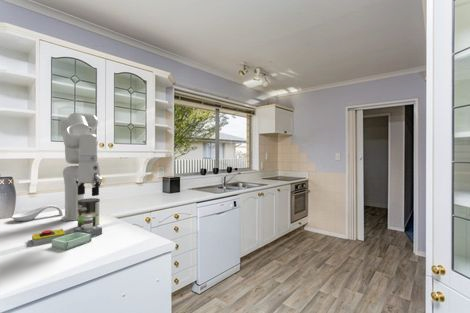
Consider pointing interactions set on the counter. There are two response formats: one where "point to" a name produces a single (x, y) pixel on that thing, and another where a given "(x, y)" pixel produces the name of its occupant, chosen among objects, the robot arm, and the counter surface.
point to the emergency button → (46, 237)
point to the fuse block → (93, 231)
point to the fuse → (88, 222)
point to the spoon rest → (33, 213)
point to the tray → (71, 240)
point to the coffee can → (88, 210)
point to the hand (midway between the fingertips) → (88, 195)
